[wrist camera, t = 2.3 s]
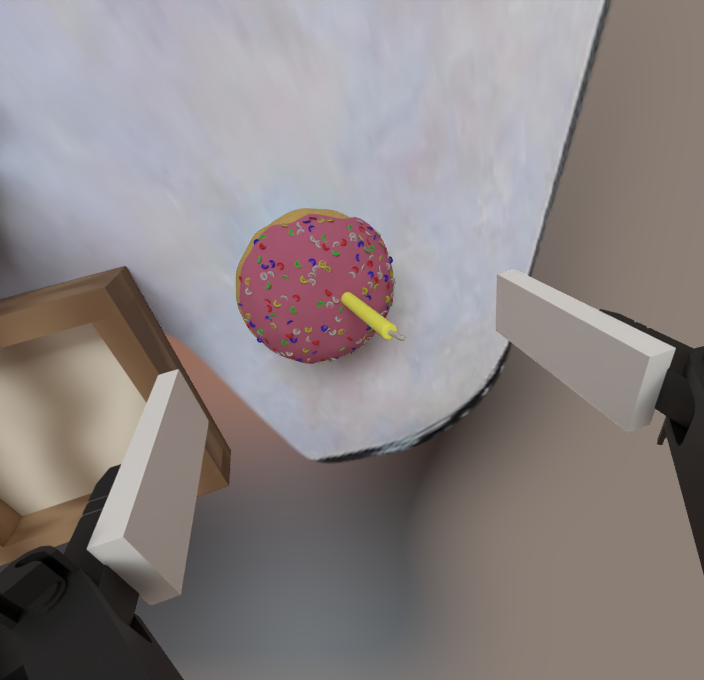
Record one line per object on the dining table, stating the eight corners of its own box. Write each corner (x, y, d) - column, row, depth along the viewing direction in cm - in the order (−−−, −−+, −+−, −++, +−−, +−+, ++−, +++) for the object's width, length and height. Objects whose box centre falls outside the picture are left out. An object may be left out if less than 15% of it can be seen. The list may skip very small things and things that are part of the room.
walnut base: (23, 520, 27) (-4, 567, 24) (-187, 349, 18) (-270, 389, 15) (230, 450, 29) (228, 485, 26) (125, 265, 20) (104, 287, 17)
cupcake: (334, 169, 21) (417, 197, 10) (388, 286, 25) (483, 385, 15) (208, 243, 21) (170, 341, 11) (285, 346, 25) (309, 483, 15)
